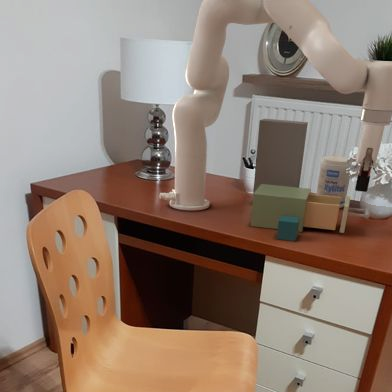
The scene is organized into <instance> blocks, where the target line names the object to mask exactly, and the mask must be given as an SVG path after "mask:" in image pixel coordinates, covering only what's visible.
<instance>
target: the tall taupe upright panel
mask: <svg viewBox="0 0 392 392" xmlns="http://www.w3.org/2000/svg"><path fill="white" fill-rule="evenodd" d="M308 122H309V121H308ZM308 122H307V121H299V120H298V121H296V120H286V119H276V118H275V119H274V118H261V119H260V120H259V122H258V123H259V125H258V132H257V133H258V135H257V146H256V159H255V168H254V181H253V191H252V192H253V193H252V195H253V194H254V192H255V191H256V190H257V189H258V187H259V186H260V185H261V184H267V185H277V186H287V187H297V188H300V185H301V177H302V170H303V162H304V154H305V147H306V139H307V132H308V124H309V123H308ZM252 203H253V198H252V199H251V204H252Z"/></svg>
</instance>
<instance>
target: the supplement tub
mask: <svg viewBox="0 0 392 392" xmlns="http://www.w3.org/2000/svg"><path fill="white" fill-rule="evenodd" d="M348 158H349V157H346V156H339V155H325V156H323V157H322V160H321V164H320V169H319V174H318V181H317V187H316V192H315V194H317V195H327V196H337V197H341V201H340V207H339V209H342V208H344V205H345V199H346V196H348V189H349V185H350V181H351V180H350V179H351V175H350V176H349V174H348V173H346V169H347V160H348Z"/></svg>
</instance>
